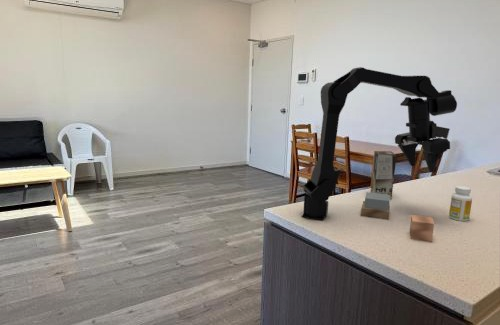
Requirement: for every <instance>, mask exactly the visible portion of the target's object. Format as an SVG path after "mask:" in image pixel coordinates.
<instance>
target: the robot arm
mask: <svg viewBox="0 0 500 325" xmlns="http://www.w3.org/2000/svg"><path fill="white" fill-rule="evenodd" d="M361 83H362V84H367V85H373V86H378V87H383V88H387V89H392V90H396V91H397V92H399V93H401V94H403V95H406V97H405V98H404V100H402V101H401V103H400V106H401V107H402V106H403V107H407V113H408V114H407V116H408V122H406V123H405V127H407V128H408V129H409V131H408V132H404V133H400V134H397V135H396V136H395V138H394V144H396V145H397V147H398V148H399V149H400V150H401V152H402V153H403V155H404V156H405V159H407V162H409V165H410V166H411V167H415V165H416V152H417V150H416V149H417V148H418V146H419V145H420V146H422V149H423V151H422V154H423V157H424V160H425V163H426V166H427V169H428V171H429V173H434V172H435V169H436V167H437V164H438V160H439V158H440V156H441V155H442V154H443V153H445V152H447V151H448V150H450V149H451V141H449V139H448V136H449V133H450V130H451V129H450V128H447V127H443V126H437V123H435V122H434V120H431V118H430V116H433V117H436V116H441V115H447V114H451V113H454V112H455V111H457V107H458V102H457V99H456V97H455V96H454V94H452V90H449V89H448V90H442V91H440V92H439V91H438V90H437V89H436V87H435V85H433V84H432V81H431V78H430V77H429V76H427V75H399V74H395V73H388V72H383V71H378V70H372V69H370V68H366V67H363V66H361V67H360V66H359V67H354V68H352V69H351V70H349V71H348V72H347V73H345V74H343V75H342V76H341V77H339V78H337V79H335V80H334V81H333V82H327V83H325V84H324V85H323V86H322V87H321V88H320V105H321V108H322V109H321V110H322V121H321V123H322V124H321V130H320V138H319V139H320V141H319V147H318V148H319V149H318V155H317V156H318V157H317V161H316V164H315V165H314V166H313V169H312V173H311V177H310V179H309V180H308V181H307V182H305V184H304V185H302V189H303V192H304V193H305V195H304V197H303V198H304V199H303V213H302V214H301V217H302V218H305V219H312V220H319V221H324V220H325V218H326V217H327V216H328V211H329V201H328V200H329V198H330V196H331V194H332V192H333V191H335V189H336V187H337V185H339V180H338V179H339V175H340V170H339V169H337V168H336V167H335V164H334V161H335V160H334V159H335V152H336V143H337V136H338V127H339V119H340V115H341V112H342V111H343V109H344V106H345V105H346V101H347V98H348V95H349V94H350V93H352V91H354V90H355V89H356V88H357V87H359V85H360V84H361ZM410 96H411V97H410ZM412 97H415V98H412ZM423 98H426V99H423Z"/></svg>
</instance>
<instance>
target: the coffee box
mask: <svg viewBox="0 0 500 325" xmlns="http://www.w3.org/2000/svg"><path fill="white" fill-rule="evenodd" d="M396 163H397V154H395V153H394V152H393V151H387V150H386V151H385V150H384V151H383V150H380V151H379V150H374V152H373V160H372V172H371V184H370V193H378V194H387V195H390V201H391V200H392V199H393V189H394V182H395V181H394V180H395V171H396V170H395V169H396Z"/></svg>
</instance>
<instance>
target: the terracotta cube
mask: <svg viewBox="0 0 500 325" xmlns="http://www.w3.org/2000/svg"><path fill="white" fill-rule="evenodd" d="M434 222H435V221H434V219H433V217H430V216H429V217H428V216H422V215H416V214H415V215H414V214H411V218H410V226H409V239H411V240H414V241H415V240H416V241H420V242H421V241H422V242H429V243H433V236H434V235H433V234H434V228H435V223H434Z"/></svg>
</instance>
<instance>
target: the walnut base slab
mask: <svg viewBox="0 0 500 325" xmlns="http://www.w3.org/2000/svg"><path fill="white" fill-rule="evenodd" d="M364 206H365V200H363V201H362V204H361V207H360V208H361V210H360V217H364V218H371V219H378V220H386V221H389V219H390V212H391V210H390V206H391V205H390V204H389V211H388V210H380V209H372V208H364Z"/></svg>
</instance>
